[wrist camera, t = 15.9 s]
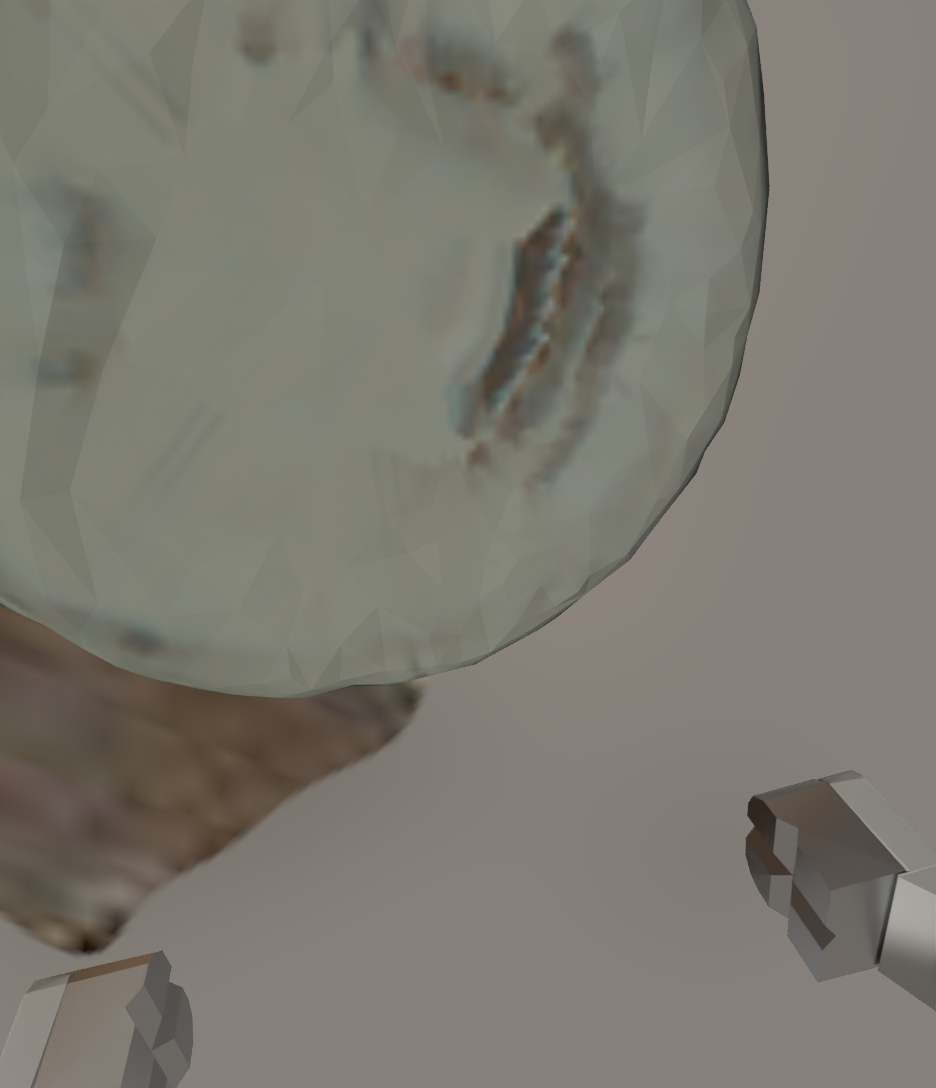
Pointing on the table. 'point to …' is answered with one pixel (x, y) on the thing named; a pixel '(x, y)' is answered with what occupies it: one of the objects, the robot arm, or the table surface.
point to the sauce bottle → (360, 318)
